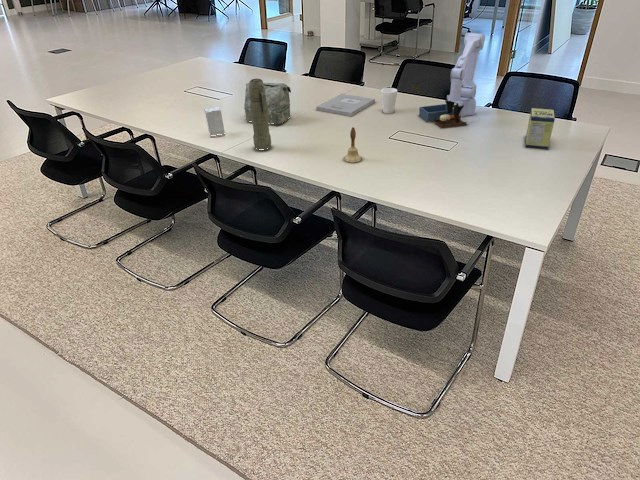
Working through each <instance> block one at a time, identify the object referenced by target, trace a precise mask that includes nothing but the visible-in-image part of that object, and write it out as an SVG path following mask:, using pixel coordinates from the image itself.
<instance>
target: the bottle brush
mask: <svg viewBox="0 0 640 480" xmlns="http://www.w3.org/2000/svg"><path fill="white" fill-rule="evenodd" d="M459 116H461V114H459ZM459 116H458V117H459ZM458 117H457V118H458ZM461 117H462V116H461ZM446 119H448V120H450V119H454V115H448V114H446V115H441V116H440V120H441V121H446Z"/></svg>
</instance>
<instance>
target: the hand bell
mask: <svg viewBox="0 0 640 480" xmlns="http://www.w3.org/2000/svg"><path fill="white" fill-rule="evenodd" d="M349 132H350V133H349V134H350V147H349V148H348V149H347V153H346V155H345V156H344V158H343V160H344V161H345V162H347V163H351V164H353V163H358V162H361V161H362V157H361V156H360V154H359V151H358V148H357V147H356V143H355V142H356V141H355V140H356V135H357V132H356V129H355V127H354V126H352V127H351V129H350V131H349Z"/></svg>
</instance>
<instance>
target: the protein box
mask: <svg viewBox="0 0 640 480" xmlns="http://www.w3.org/2000/svg"><path fill="white" fill-rule="evenodd" d="M555 119H556V118H555V111H554V108H542V107H531V110H530V113H529V118H528V123H527V128H526V133H525V148H527V149H529V148H530V149H540V150H549V146H550V142H551V137H552V133H553V129H554V124H555Z"/></svg>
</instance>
